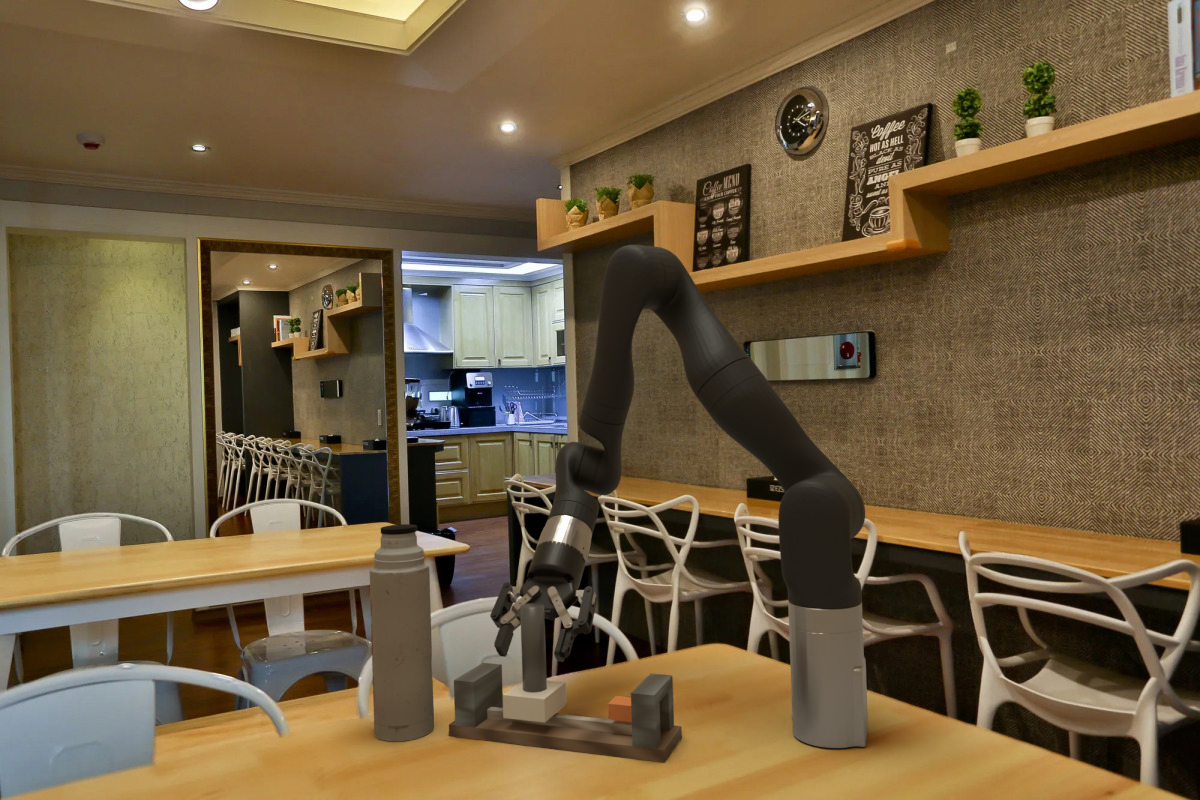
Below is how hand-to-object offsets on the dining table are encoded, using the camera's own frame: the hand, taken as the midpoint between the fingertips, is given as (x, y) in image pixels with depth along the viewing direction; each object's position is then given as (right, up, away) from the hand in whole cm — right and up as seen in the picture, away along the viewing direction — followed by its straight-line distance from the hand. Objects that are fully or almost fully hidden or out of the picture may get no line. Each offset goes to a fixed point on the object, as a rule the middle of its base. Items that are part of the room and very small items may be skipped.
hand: (529, 656), depth 112 cm
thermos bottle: (-17, -11, +4) cm, 21 cm away
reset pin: (+13, -7, -4) cm, 15 cm away
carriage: (+1, -8, +1) cm, 8 cm away
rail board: (+5, -11, 0) cm, 11 cm away
